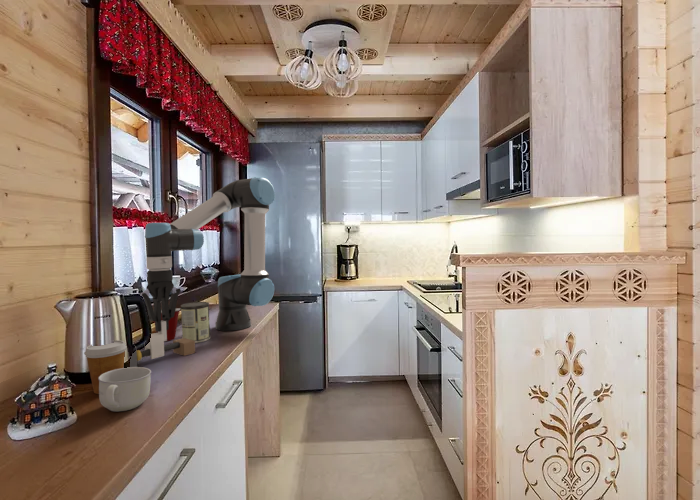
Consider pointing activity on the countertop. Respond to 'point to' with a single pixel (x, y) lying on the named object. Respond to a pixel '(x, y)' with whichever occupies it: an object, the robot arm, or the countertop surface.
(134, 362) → the cord rail
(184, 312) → the coffee can
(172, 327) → the plastic cup
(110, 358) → the disposable coffee cup
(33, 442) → the countertop surface
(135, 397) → the teacup
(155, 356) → the white upright block
